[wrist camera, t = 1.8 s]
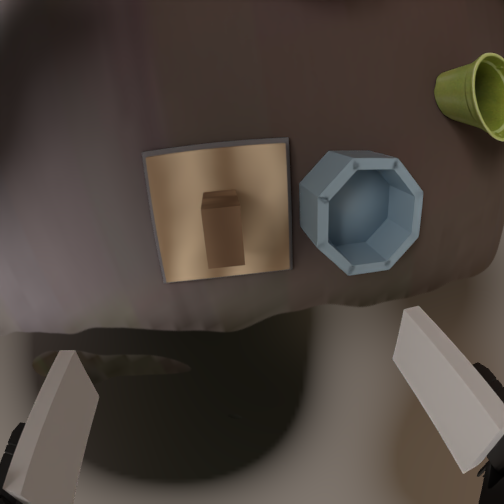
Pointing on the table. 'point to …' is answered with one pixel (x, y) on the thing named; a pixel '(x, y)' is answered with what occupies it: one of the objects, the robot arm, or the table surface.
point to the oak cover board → (213, 175)
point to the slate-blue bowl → (360, 209)
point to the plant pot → (475, 94)
